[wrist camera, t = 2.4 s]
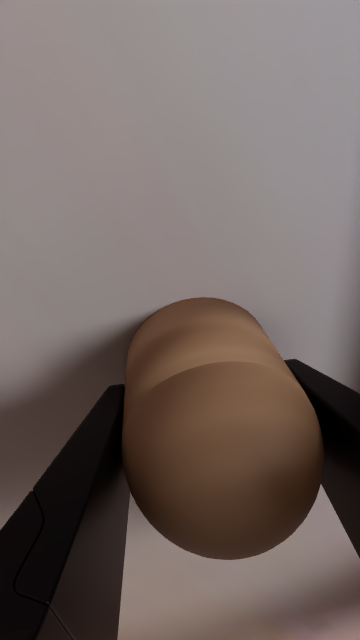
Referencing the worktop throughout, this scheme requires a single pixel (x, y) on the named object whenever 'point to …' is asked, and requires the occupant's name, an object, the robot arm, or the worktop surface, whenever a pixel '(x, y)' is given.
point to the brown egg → (217, 432)
